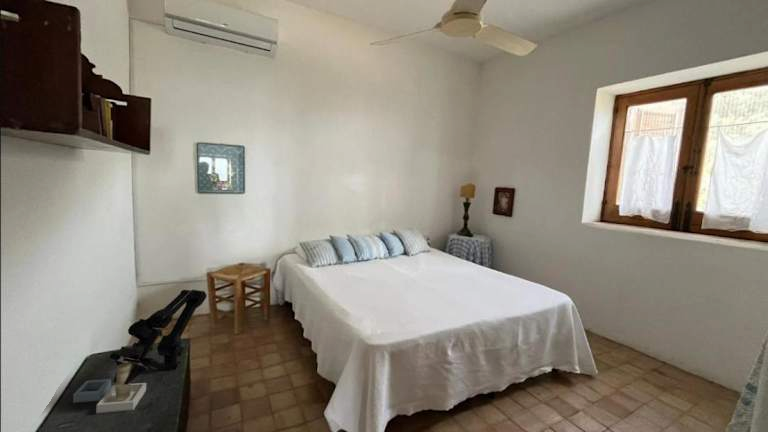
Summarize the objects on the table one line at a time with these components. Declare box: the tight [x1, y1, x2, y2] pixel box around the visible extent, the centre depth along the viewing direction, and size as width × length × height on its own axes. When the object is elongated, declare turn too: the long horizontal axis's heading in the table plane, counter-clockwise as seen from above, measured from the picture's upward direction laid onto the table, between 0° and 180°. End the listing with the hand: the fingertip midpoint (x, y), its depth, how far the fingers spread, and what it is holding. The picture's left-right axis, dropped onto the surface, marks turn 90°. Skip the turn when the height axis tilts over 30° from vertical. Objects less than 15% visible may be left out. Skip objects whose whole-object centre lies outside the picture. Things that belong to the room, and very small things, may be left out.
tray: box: [95, 382, 147, 415], centre depth 124 cm, size 12×12×4 cm
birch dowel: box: [115, 362, 132, 400], centre depth 123 cm, size 4×4×13 cm
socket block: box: [72, 378, 112, 404], centre depth 126 cm, size 8×8×4 cm
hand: (120, 383), depth 122 cm, fingers closed on birch dowel, 4 cm apart
